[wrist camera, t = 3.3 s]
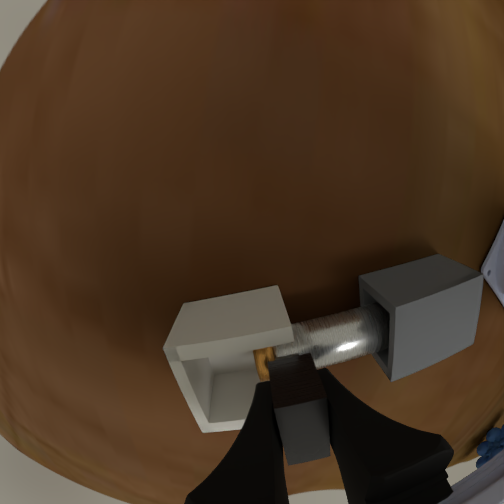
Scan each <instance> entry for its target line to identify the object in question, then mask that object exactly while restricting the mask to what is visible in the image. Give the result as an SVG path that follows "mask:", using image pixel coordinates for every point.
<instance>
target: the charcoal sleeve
mask: <svg viewBox="0 0 504 504" xmlns="http://www.w3.org/2000/svg"><path fill="white" fill-rule="evenodd" d="M483 277H484V274H483V273H480V272H478V271H476V270H474V269H472V268H470V267H467V266H465V265H463V264H461V263H458V262H456V261H454V260H452V259H449V258H447V257H445V256H442V255H440V254H436V255H432V256H429V257H426V258H422V259H419V260H415V261H412V262H408V263H405V264H401V265H397V266H394V267H390V268H386V269H383V270H379V271H375V272H371V273H367V274H363V275H360V276H359V290H360V306H361V307H362V306H365V305H369V304H372V303H375V302H378V303H380V304H381V305H382V306H383V307H384V308H385V309H386V310H387V311H388V312H389V313H390V332H389V348H386V349H383V350H380V351H377V352H374V353H371V354H372V355H373V357H374V358H375V360H376V361H377V363H378V364H379V365H380V367H381V368H382V370H383V371H384V373H385V374H386V375H387V377H388V378H389V380H390V381H391V382H392V381H395V380H398V379H400V378H403V377H405V376H408V375H410V374H412V373H415V372H417V371H419V370H422V369H424V368H426V367H428V366H431V365H433V364H435V363H437V362H439V361H441V360H443V359H445V358H447V357H449V356H451V355H453V354H455V353H457V352H459V351H461V350H463V349H465V348H467V347H468V346H470V345H472V344H473V343H474V338H475V333H476V328H477V323H478V317H479V311H480V304H481V296H482V288H483Z"/></svg>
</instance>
